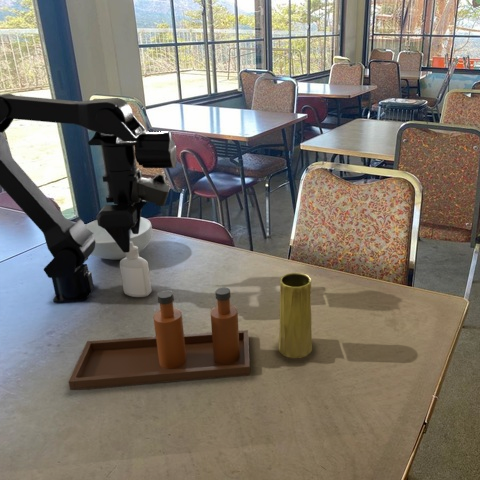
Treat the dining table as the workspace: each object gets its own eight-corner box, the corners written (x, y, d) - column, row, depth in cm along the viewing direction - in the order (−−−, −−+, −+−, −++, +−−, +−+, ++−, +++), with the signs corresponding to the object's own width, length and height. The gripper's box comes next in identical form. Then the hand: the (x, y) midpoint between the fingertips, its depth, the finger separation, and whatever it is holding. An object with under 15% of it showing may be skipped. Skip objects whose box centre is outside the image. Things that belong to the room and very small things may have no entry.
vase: (286, 364, 82) (286, 291, 76) (272, 345, 87) (271, 275, 81) (318, 355, 85) (320, 284, 79) (303, 336, 90) (304, 268, 84)
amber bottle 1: (157, 369, 79) (148, 302, 74) (161, 353, 83) (152, 288, 78) (185, 367, 80) (177, 300, 74) (187, 351, 84) (180, 286, 78)
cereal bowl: (95, 240, 127) (91, 215, 124) (160, 239, 129) (157, 214, 126) (72, 269, 112) (66, 241, 109) (146, 267, 113) (142, 240, 111)
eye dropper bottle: (135, 301, 99) (127, 249, 94) (121, 292, 103) (113, 241, 98) (154, 294, 102) (147, 242, 98) (140, 285, 106) (133, 235, 101)
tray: (70, 392, 74) (68, 381, 74) (89, 351, 84) (87, 341, 83) (250, 377, 79) (249, 366, 78) (248, 339, 88) (247, 329, 88)
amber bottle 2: (213, 365, 80) (208, 298, 75) (214, 349, 84) (209, 285, 79) (239, 363, 81) (236, 296, 76) (239, 347, 85) (236, 283, 80)
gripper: (156, 180, 84) (166, 260, 90) (170, 155, 101) (177, 224, 107) (89, 182, 82) (103, 263, 89) (115, 156, 99) (125, 226, 106)
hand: (131, 242), depth 98 cm, fingers open, 9 cm apart
